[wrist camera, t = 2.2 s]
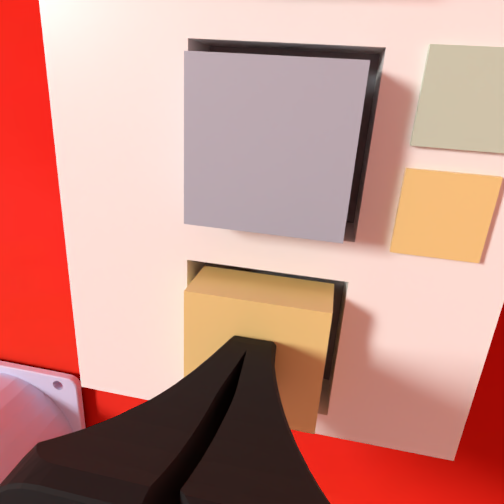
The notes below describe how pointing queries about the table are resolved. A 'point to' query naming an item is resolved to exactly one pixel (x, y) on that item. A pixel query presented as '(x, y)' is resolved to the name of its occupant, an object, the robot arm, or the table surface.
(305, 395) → the key ochre
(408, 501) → the table surface
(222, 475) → the robot arm
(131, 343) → the keyguard panel
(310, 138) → the key slate
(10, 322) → the table surface
